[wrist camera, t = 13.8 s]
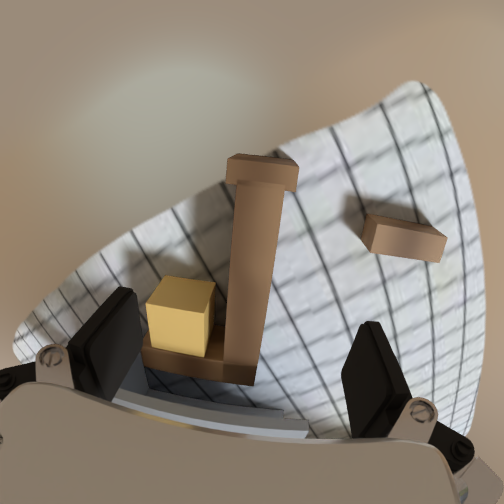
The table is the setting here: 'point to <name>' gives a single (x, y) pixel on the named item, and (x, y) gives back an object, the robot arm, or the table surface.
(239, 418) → the grey angled slab
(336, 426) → the table surface
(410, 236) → the tan rectangular bar
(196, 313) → the block
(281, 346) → the table surface
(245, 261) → the mallet
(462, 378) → the table surface
